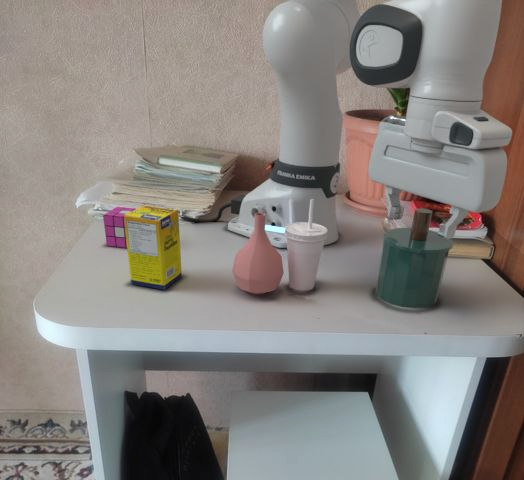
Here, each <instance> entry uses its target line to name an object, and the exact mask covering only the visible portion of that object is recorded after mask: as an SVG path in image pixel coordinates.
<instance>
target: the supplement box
mask: <svg viewBox="0 0 524 480" xmlns="http://www.w3.org/2000/svg"><path fill="white" fill-rule="evenodd" d="M135 209H136V210H134V211H131V212H129V213H127V214H125V216H124V222H125V231H126V241H127V248H126V249H127V258H128V266H129V275H130V277H129V278H130V284H131V285H136V286H142V287H146V288H153V289H158V290H163V291H165V290H166V289H168V288H170V286H171V285H173V284H174V283H175V282H177V281H178V280H179V279H180V278H181V277H183V276H182V275H183V273H182V253H181V235H180V219H179V218H180V215H179V211H178V210H173V209H170V208H166V207H160V206H143V205H142V206H140V207H138V208H135Z"/></svg>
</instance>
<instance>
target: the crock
mask: <svg viewBox="0 0 524 480" xmlns="http://www.w3.org/2000/svg"><path fill="white" fill-rule="evenodd" d="M449 252H450V250H449V251H446V252H442V253H417V252H410V251H406V250H402V249H398V248H396V247H393V246H391V245H389V244H388V243H386V242H385V241H384V240H383V241H382V247H381V253H380V261H379V265H378V272H377V278H376V283H375V295H376V296H377V297H378V298H379V299H380V300H381V301H383V302H386V303H388V304H390V305H394V306H396V307H397V306H398V307H400V308H401V307H402V308H409V309H422V308H423V309H424V308H428V307H432V306H434V305H435V304H436V303H437V301H438V299H439V294H440V291H441V286H442V282H443V277H444V273H445V271H446V270H445V269H446V265H447V260H448V256H449Z"/></svg>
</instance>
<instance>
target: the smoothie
mask: <svg viewBox="0 0 524 480" xmlns="http://www.w3.org/2000/svg"><path fill="white" fill-rule="evenodd" d="M313 207H314V199H310V209H309V221H308V222H297V223H291V224H289V225H287V226H286V227H285V233H284V234H285V236H286V237H287V248H286V249H287V250H286V252H287V265H288V266H287V269H288V283H289V284H288V285H289V286H288V287H289V289H292V290H295V291H300V292H305V291H310V290H313V289H314V287H315V284H316V279H317V274H318V269H319V266H320V262H321V258H322V257H321V256H322V252H323V248H324V245H323V244H324V240H325V239H326V238H327V232H328V230H327V228H325V227H324V226H322V225H319V224H315V223H312V218H313Z"/></svg>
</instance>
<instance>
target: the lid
mask: <svg viewBox="0 0 524 480" xmlns="http://www.w3.org/2000/svg"><path fill="white" fill-rule="evenodd" d="M432 216H433V210H431V209H428V208H420V207H419V208H416V209H414V213H413V217H412V224H411V227H396V228H391V229H387V230H386V231H385V232H384V233H383V237H382V238H383V241H385V242H386V243H388V244H389V245H391V246H393V247H396V248H398V249H402V250H406V251H410V252H417V253H442V252H446V251H449V252H450V250H452V249H453V248H454V247H453V246H454V241H453V238H450V239H446V238H443V237H441V236H439V235H438V231H435V230H432V229H431V230H430V225H431V220H432Z"/></svg>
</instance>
